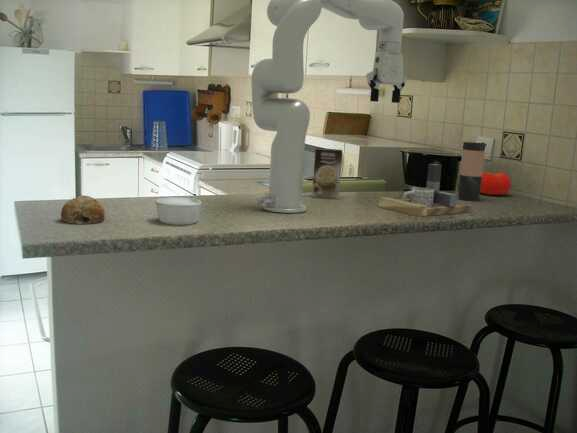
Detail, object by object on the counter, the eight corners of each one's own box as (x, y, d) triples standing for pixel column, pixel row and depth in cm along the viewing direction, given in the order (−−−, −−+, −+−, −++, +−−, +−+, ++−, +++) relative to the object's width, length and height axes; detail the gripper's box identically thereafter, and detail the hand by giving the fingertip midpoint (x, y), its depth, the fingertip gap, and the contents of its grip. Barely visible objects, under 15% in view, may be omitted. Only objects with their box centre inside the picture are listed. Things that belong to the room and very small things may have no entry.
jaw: (449, 206, 190) (453, 167, 188) (408, 197, 204) (411, 161, 202) (456, 206, 192) (460, 167, 190) (414, 197, 205) (418, 161, 203)
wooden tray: (418, 216, 183) (419, 206, 182) (378, 206, 197) (379, 197, 196) (472, 211, 197) (473, 202, 196) (431, 203, 210) (431, 194, 210)
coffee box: (311, 197, 209) (314, 148, 206) (312, 194, 215) (315, 147, 212) (338, 199, 208) (342, 150, 205) (339, 196, 214) (342, 149, 211)
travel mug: (482, 199, 225) (488, 143, 221) (476, 202, 219) (482, 144, 215) (461, 197, 229) (466, 141, 225) (454, 199, 223) (460, 142, 219)
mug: (425, 208, 199) (427, 187, 198) (436, 212, 193) (438, 190, 192) (397, 208, 196) (398, 187, 195) (406, 212, 190) (408, 190, 189)
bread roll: (62, 238, 148) (63, 211, 144) (59, 213, 156) (59, 186, 152) (105, 237, 152) (107, 210, 148) (100, 212, 160) (102, 186, 156)
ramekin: (208, 224, 156) (208, 203, 155) (165, 227, 150) (166, 205, 149) (189, 216, 165) (190, 196, 164) (148, 218, 159) (149, 198, 158)
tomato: (504, 193, 246) (507, 171, 244) (512, 198, 234) (515, 175, 232) (471, 191, 247) (474, 169, 246) (477, 195, 235) (479, 173, 234)
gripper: (377, 45, 197) (373, 101, 200) (416, 50, 207) (411, 103, 210) (361, 46, 203) (357, 100, 206) (400, 51, 213) (395, 102, 216)
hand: (384, 102), depth 208 cm, fingers open, 9 cm apart
